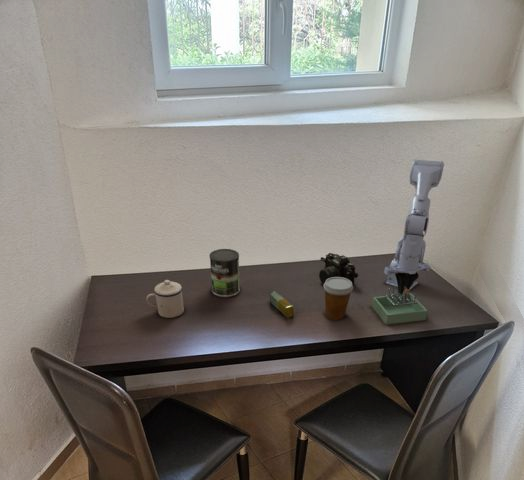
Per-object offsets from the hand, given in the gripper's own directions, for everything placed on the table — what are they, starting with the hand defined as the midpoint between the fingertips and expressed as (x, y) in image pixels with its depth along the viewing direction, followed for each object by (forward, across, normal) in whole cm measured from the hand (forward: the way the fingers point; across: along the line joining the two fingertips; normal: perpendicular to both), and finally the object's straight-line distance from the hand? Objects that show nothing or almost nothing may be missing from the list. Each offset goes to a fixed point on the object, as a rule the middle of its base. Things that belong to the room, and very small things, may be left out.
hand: (402, 292), depth 151 cm
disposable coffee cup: (+8, -21, +4) cm, 23 cm away
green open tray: (+8, 0, 0) cm, 8 cm away
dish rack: (+3, 0, 0) cm, 3 cm away
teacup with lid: (+8, -77, +16) cm, 79 cm away
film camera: (+8, -14, +26) cm, 31 cm away
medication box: (+8, -38, +10) cm, 40 cm away
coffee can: (+8, -55, +28) cm, 62 cm away
